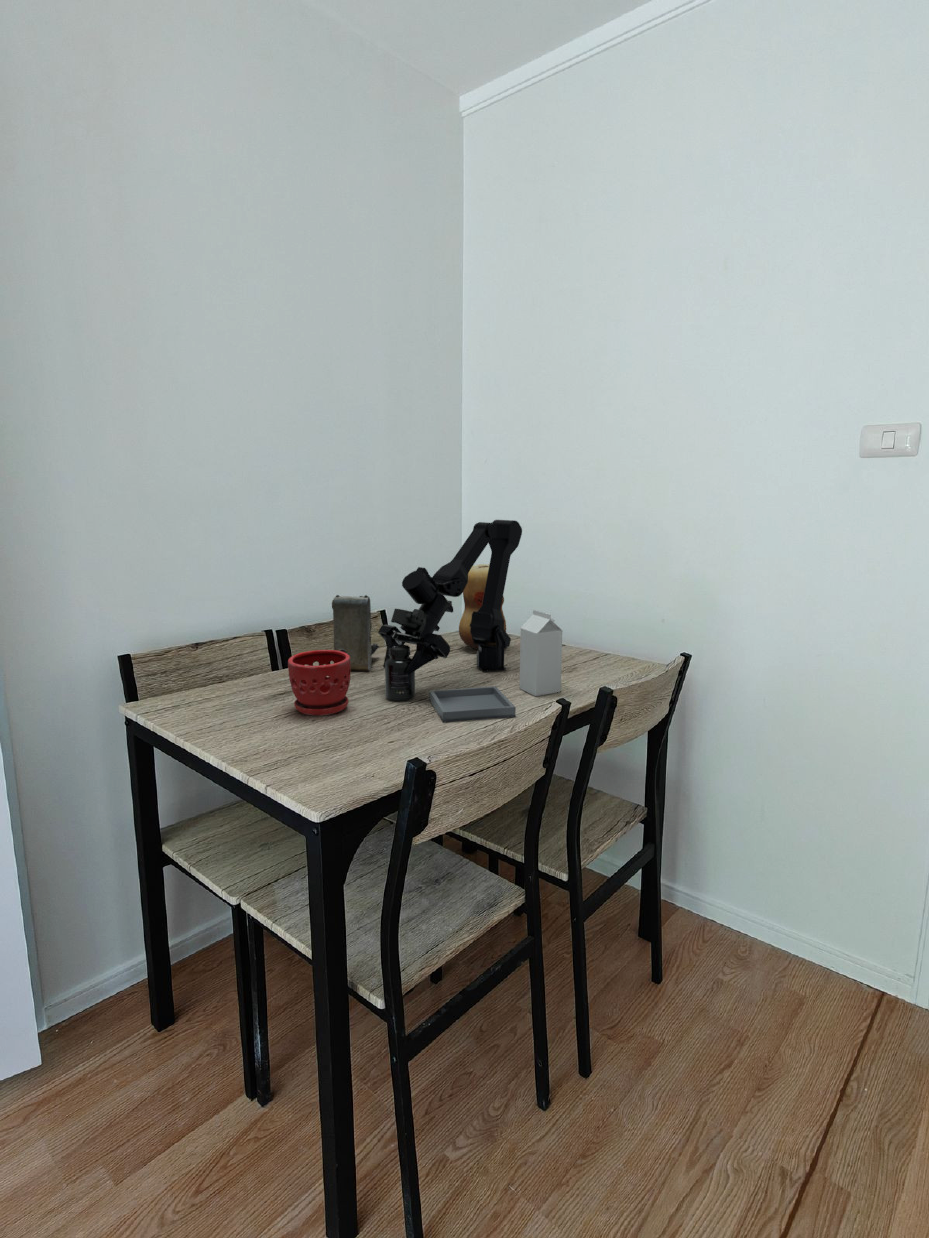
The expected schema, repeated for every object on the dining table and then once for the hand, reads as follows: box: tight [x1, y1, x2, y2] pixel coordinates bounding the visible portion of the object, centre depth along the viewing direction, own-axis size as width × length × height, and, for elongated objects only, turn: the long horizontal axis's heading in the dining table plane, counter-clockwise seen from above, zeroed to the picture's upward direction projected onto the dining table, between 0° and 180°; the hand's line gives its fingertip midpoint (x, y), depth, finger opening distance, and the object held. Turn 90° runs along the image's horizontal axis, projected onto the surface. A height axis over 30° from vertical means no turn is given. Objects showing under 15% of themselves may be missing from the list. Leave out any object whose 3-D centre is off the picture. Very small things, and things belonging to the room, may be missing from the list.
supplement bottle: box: [384, 644, 416, 703], centre depth 164 cm, size 7×7×12 cm
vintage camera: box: [331, 594, 380, 672], centre depth 192 cm, size 10×16×20 cm, turn 174°
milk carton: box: [519, 609, 563, 697], centre depth 168 cm, size 7×7×19 cm
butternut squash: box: [458, 563, 507, 651], centre depth 208 cm, size 14×13×25 cm
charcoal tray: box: [428, 685, 517, 723], centre depth 157 cm, size 16×16×2 cm
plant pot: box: [287, 649, 352, 717], centre depth 155 cm, size 13×13×12 cm
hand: (395, 670), depth 163 cm, fingers closed on supplement bottle, 7 cm apart
